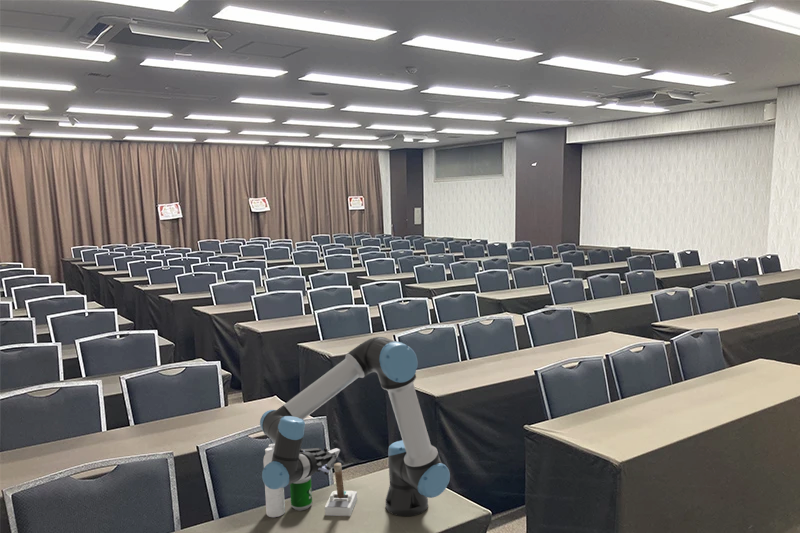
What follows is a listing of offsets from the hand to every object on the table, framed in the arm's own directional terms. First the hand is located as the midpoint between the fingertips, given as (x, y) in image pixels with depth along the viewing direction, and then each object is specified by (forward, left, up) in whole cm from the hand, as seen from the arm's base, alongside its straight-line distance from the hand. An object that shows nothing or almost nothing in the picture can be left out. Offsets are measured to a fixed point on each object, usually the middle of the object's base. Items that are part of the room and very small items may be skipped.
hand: (337, 452), depth 195 cm
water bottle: (+23, +6, -23) cm, 33 cm away
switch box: (+3, -6, -23) cm, 24 cm away
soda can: (+17, -2, -23) cm, 29 cm away
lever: (+3, -6, -19) cm, 20 cm away
